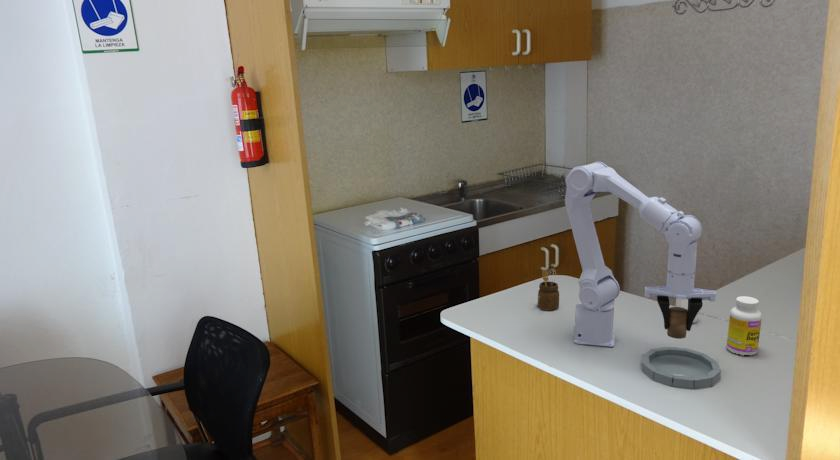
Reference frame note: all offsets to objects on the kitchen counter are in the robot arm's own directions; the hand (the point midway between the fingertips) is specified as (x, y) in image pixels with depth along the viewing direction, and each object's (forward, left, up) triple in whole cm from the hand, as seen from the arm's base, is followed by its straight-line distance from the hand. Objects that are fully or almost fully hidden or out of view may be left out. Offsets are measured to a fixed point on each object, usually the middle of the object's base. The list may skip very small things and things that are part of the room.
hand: (677, 328), depth 144 cm
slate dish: (+1, -4, -9) cm, 9 cm away
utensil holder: (-31, +28, -9) cm, 43 cm away
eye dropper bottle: (+5, +25, -9) cm, 27 cm away
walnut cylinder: (0, 0, -2) cm, 2 cm away
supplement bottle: (+16, +10, -9) cm, 21 cm away
